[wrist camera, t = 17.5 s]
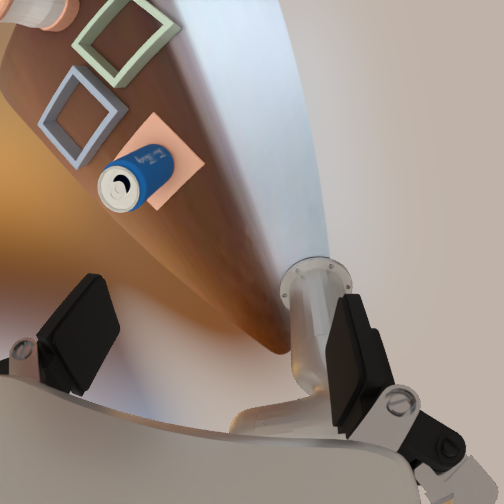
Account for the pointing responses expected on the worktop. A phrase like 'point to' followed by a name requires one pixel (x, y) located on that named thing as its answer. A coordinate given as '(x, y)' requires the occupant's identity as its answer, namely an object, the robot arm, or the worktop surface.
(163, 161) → the beverage can
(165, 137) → the terracotta mat
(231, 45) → the worktop surface
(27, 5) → the salt shaker
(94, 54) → the sage green bin
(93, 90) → the slate blue bin
